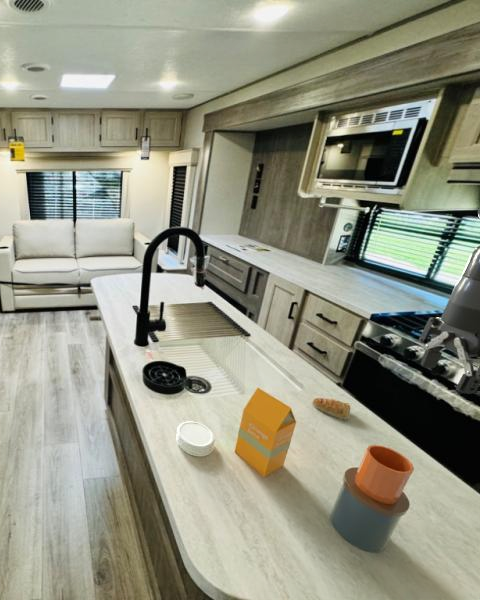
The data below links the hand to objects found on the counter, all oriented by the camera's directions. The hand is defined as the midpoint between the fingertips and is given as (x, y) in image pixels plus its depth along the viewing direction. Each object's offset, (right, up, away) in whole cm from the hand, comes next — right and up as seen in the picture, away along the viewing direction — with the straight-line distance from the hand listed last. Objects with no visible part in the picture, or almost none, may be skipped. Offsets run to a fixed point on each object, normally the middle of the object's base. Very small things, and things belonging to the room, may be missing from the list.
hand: (444, 378), depth 62 cm
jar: (-14, -33, +4) cm, 36 cm away
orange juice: (-25, -27, +21) cm, 42 cm away
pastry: (+8, -20, +37) cm, 43 cm away
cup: (-14, -22, 0) cm, 26 cm away
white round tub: (-40, -25, +27) cm, 54 cm away
